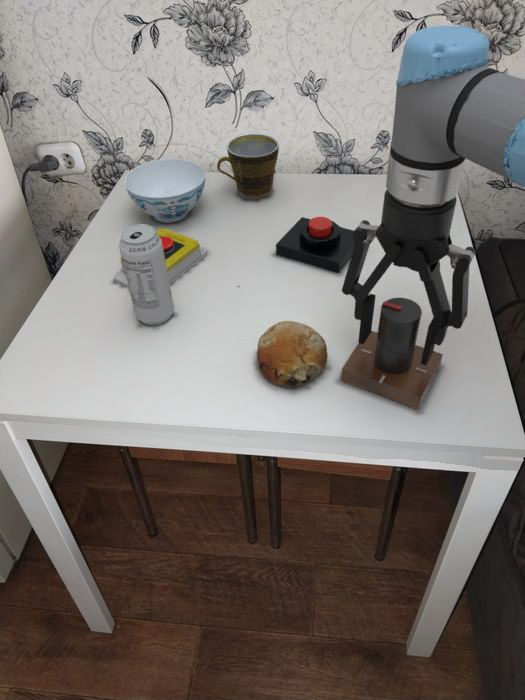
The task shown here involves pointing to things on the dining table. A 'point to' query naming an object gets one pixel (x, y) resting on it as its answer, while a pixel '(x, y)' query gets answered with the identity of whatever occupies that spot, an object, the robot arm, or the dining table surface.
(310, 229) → the button
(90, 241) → the dining table surface
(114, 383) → the dining table surface
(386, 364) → the dial
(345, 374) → the dial panel
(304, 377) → the bread roll
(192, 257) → the emergency button
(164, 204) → the chinaware
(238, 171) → the ceramic cup
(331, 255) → the button box
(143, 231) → the energy drink can
